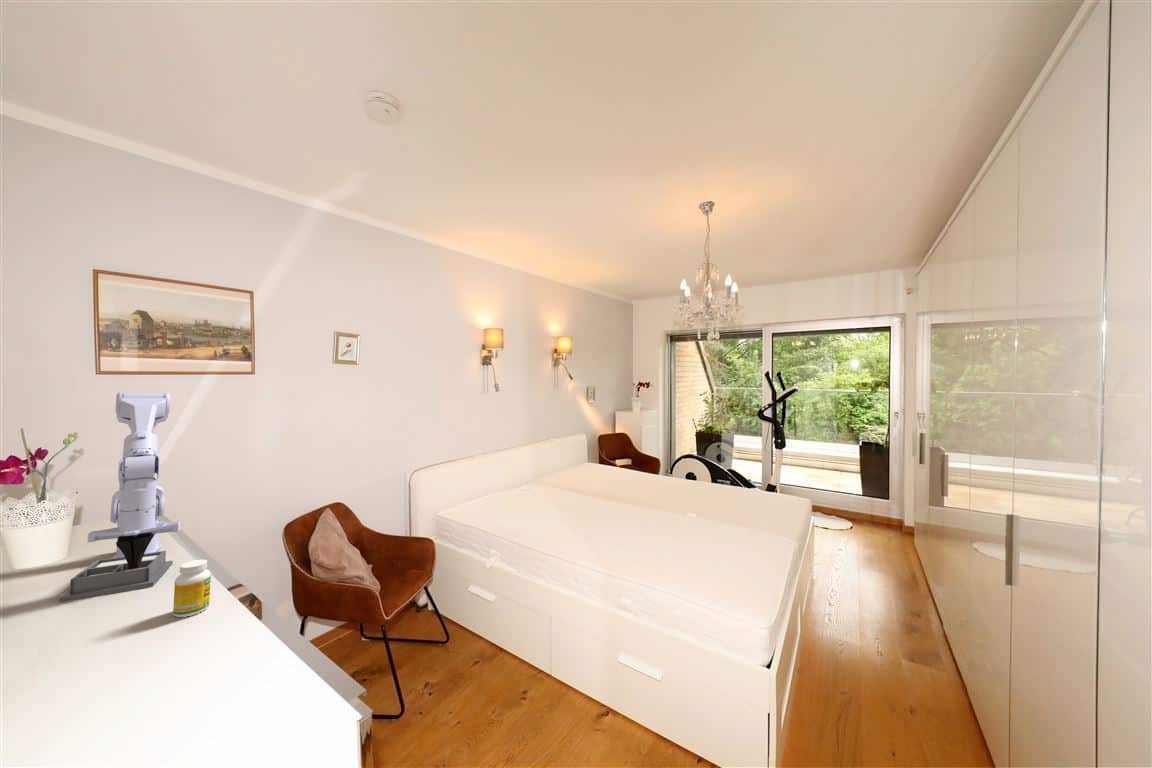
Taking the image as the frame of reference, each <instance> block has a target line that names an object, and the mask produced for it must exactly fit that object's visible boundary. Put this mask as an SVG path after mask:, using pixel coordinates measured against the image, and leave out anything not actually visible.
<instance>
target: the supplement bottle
mask: <svg viewBox="0 0 1152 768" xmlns="http://www.w3.org/2000/svg"><path fill="white" fill-rule="evenodd" d="M207 568H208V560H207V559H194V560H190V561H186V562H184V563H182V564H181V565H180V566H179V575H178V576H176V578H175V580H174V586H173V587H174V588H173V589H174V590H173V593H174V594H173V608H172V610H173V612H172V614H173V616H174V617H175V616H176V617H175V618H180V617H182V618H188V617H187V616H189V617H192V615H193V616H196V615H198V613H199V614H201V613H203V612H205V611H206V610H207V609H209V607H210V601H211V600H210V599H211V583H212V582H211V579H212V573H211V571H210V569H209V570H208V569H207ZM204 610H205V611H204ZM200 612H201V613H200ZM195 614H196V615H195Z"/></svg>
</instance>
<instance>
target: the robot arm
mask: <svg viewBox="0 0 1152 768" xmlns="http://www.w3.org/2000/svg"><path fill="white" fill-rule="evenodd" d="M170 404H171V394H170V393H169V392H167V391H165V392H148V391H144V392H139V391H137V392H136V391H135V392H134V391H132V392H131V391H130V392H128V391H119V392H117V393H116V398H115V414H116V420H117V421H118V423H121V424H125V425H128V427H129V429H130V433H129V434H128V435H127V436H126V437H124V439H123V448H122V457H121V459H119V462H118V469H117V470H118V471H117V478H118V486H119V487H118V489H119V490H117V491H115V492H114V494H113V495H112V499H111V500H112V501H111V505H110V518H109V519H110V520H109V521H110V522H111V523H112V524H116V527H114V528H113V527H112V528H106V529H98V530H92V531H91V532H89V533H87V543H94V542H96V541H97V542H98V541H106V540H113V539H114V540H115V539H116V542H115V545H116V551H115V555H114V556H112V557H111V558H116V557H124V556H125V558H126V561H127V563H128V567H129V570H131V569H137V568H139V567H140V566H141V561H142V558H143V555H144V554H146V553H153V552H158V551H159V549H161V548H162V547H163V545H164V543H159V537H160V535H159V534H163V533H164V534H165V533H178V532H179V531H180V530H181V528H182V521H173V522H159V521H158V518H161V517H162V516H163V515H164V514H165V501H166V499H165V489H164V488H163V487H162V486H160V485H158V480H159V477H160V475H161V455H160V452H159V437H158V435H157V434H155V433H154V431H155V429H156V427H157V425H158V424H160V423H164V422H166V421H167V419H168V418H169V413H170V410H171V409H170V408H171V407H170V406H171V405H170ZM155 474H156V475H157V477H156V478H155ZM157 479H158V480H157Z"/></svg>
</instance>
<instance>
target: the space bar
mask: <svg viewBox="0 0 1152 768" xmlns="http://www.w3.org/2000/svg"><path fill="white" fill-rule="evenodd" d="M157 556H158V555H155V556H148V557H143V558H142V561H144V560H151V559H155V558H156V557H157ZM123 563H127V561H126V560H120V561H112V562H105V563H101V564H99V565H98V566H97V567H102V566H109V565H116V564H123Z"/></svg>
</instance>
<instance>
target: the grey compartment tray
mask: <svg viewBox="0 0 1152 768" xmlns="http://www.w3.org/2000/svg"><path fill="white" fill-rule="evenodd" d="M166 551H167V550H162V551H156V552H153V553H146V554H144V555H143V557H148V556H155V555H158V556H157V557H156V558H155V559H151V560H144V561H141V566H140V567H139V568H140V569H133V570H129V567H128V563H123V564H116V565H109V566H102V567H97V566H98V565H99V564H101V563H105V562H112V561H120V560H126V558H125V556H124V557H116V558H112V557H110V558H103V559H96V560H95V561H93V562H92V563H91V564H90V565H88V566H87V567H86V568H84V569H83V570H82V571H80V572H78V574H76V575H75V576H73V577H72V578H71V579H70V583H69V585H70V586H69V589H68V590H67V591H65V592H64V593H63V594H62V595H61V596H59V597H58V603H65V602H71V601H76V600H82V599H88V598H93V597H99V596H100V597H101V596H105V595H111V594H118V593H125V592H129V591H135V590H142V589H147V588H153V587H154V586H156V584H157V583H158V582H159V580H160V579H162V577H163V576H164V575H165V573H167V571H168V570H169V569H170V568H171V567H172V565H173V560H166V555H167V553H166ZM170 566H171V567H170ZM144 567H146V568H144ZM169 567H170V568H169ZM125 570H127V571H125ZM110 572H111V573H110ZM104 573H107V574H104ZM97 574H100V575H97ZM90 575H93V576H90Z"/></svg>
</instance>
